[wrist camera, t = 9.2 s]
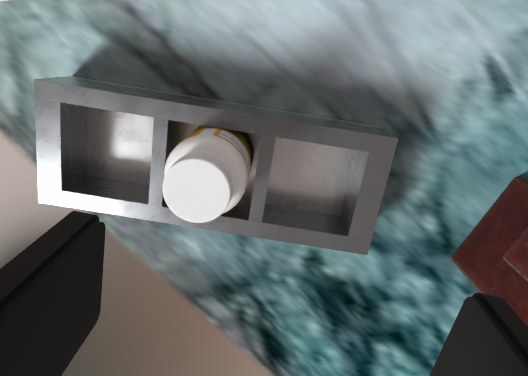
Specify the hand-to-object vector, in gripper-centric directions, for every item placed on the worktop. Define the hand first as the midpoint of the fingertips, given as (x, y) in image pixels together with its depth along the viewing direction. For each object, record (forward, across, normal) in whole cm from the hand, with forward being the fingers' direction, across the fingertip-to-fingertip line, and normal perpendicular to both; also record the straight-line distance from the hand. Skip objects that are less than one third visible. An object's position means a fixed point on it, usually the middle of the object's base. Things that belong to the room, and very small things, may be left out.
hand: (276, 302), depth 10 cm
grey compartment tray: (+23, +4, +4) cm, 24 cm away
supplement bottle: (+22, +4, +3) cm, 23 cm away
